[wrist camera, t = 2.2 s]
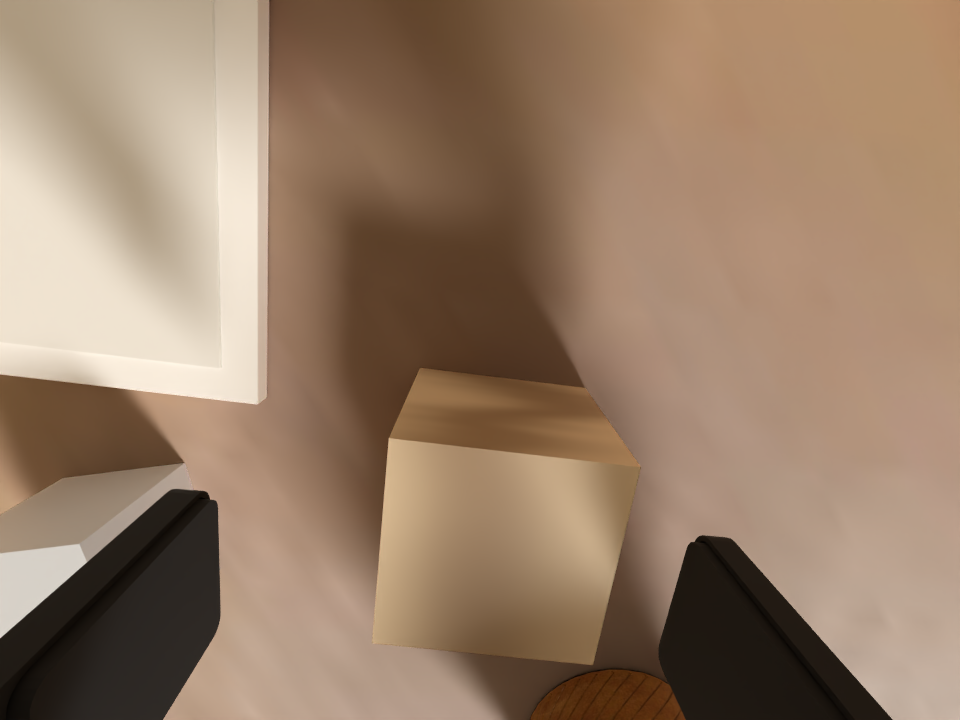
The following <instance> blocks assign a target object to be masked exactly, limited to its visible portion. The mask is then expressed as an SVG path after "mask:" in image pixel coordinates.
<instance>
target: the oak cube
mask: <svg viewBox="0 0 960 720" xmlns="http://www.w3.org/2000/svg"><path fill="white" fill-rule="evenodd" d="M640 469H641V467H640V465H639V464H638V462H637V461H636V460H635V458H634V457H633V455H632V454H631V452H630V451H629V450H628V448H627V447H626V445H625V444H624V442H623V441H622V440H621V438H620V437H619V435H618V434H617V433H616V431H615V430H614V428H613V427H612V425H611V424H610V423H609V421H608V420H607V418H606V417H605V415H604V414H603V413H602V411H601V410H600V408H599V407H598V406H597V404H596V403H595V401H594V400H593V398H592V397H591V396H590V394H589V393H588V391H587V390H586V388H583V387H575V386H566V385H558V384H550V383H542V382H534V381H525V380H517V379H509V378H501V377H492V376H484V375H476V374H468V373H459V372H451V371H443V370H435V369H426V368H420V369H419V371H418V374H417V376H416V378H415V380H414V383H413V385H412V387H411V389H410V392H409V394H408V396H407V398H406V401H405V403H404V405H403V407H402V410H401V412H400V414H399V416H398V419H397V421H396V423H395V425H394V428H393V430H392V432H391V434H390V437H389V441H388V453H387V466H386V478H385V490H384V502H383V515H382V527H381V539H380V551H379V563H378V576H377V588H376V600H375V612H374V624H373V637H372V643H374V644H384V645H394V646H404V647H414V648H424V649H434V650H445V651H455V652H465V653H475V654H485V655H495V656H505V657H515V658H525V659H535V660H546V661H556V662H566V663H576V664H586V665H593V662H594V658H595V654H596V650H597V646H598V642H599V638H600V633H601V629H602V625H603V621H604V617H605V613H606V609H607V605H608V601H609V596H610V592H611V588H612V584H613V580H614V576H615V572H616V568H617V564H618V560H619V555H620V551H621V547H622V543H623V539H624V535H625V531H626V527H627V523H628V518H629V514H630V510H631V506H632V502H633V498H634V494H635V490H636V486H637V481H638V477H639V473H640Z"/></svg>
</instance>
